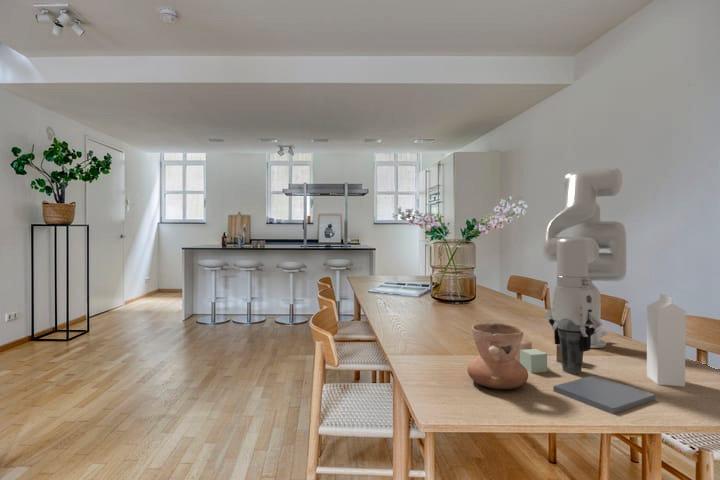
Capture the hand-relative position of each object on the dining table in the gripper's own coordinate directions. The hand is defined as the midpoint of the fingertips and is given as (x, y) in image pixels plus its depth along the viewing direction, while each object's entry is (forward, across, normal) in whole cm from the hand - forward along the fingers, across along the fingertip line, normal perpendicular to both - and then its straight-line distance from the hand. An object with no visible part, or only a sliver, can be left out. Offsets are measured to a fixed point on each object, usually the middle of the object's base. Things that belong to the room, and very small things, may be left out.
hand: (571, 346), depth 109 cm
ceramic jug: (+7, +3, +25) cm, 26 cm away
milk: (+7, -16, -14) cm, 22 cm away
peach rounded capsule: (+7, +12, +6) cm, 15 cm away
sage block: (+7, +6, +8) cm, 12 cm away
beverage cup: (+7, 0, 0) cm, 7 cm away
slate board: (+7, -14, +9) cm, 18 cm away
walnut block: (+7, +6, -7) cm, 11 cm away
